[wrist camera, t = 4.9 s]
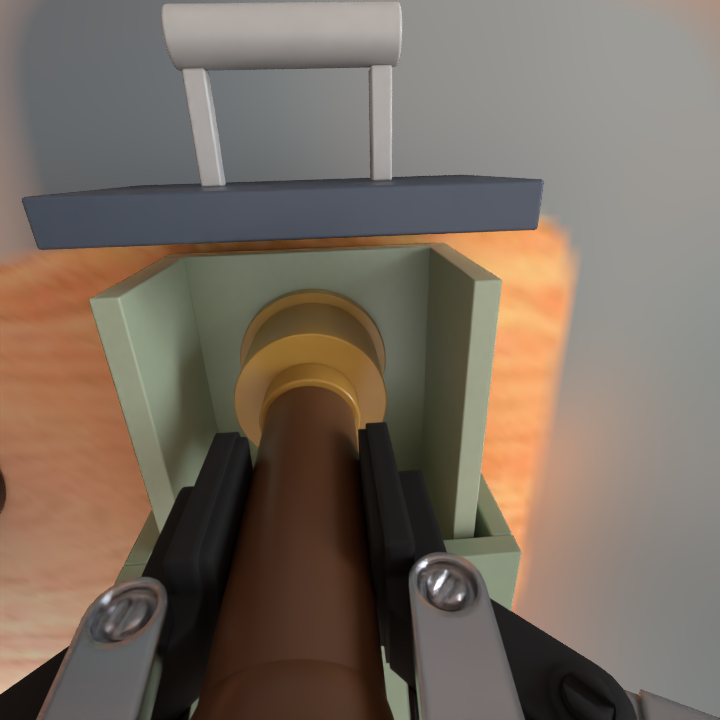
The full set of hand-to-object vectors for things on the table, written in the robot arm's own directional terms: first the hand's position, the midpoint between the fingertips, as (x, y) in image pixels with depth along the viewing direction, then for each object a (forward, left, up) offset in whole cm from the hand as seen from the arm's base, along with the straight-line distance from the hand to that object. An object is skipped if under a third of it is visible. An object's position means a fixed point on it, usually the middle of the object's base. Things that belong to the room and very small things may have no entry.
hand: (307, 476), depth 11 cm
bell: (0, 0, -8) cm, 8 cm away
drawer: (-1, +2, -9) cm, 9 cm away
